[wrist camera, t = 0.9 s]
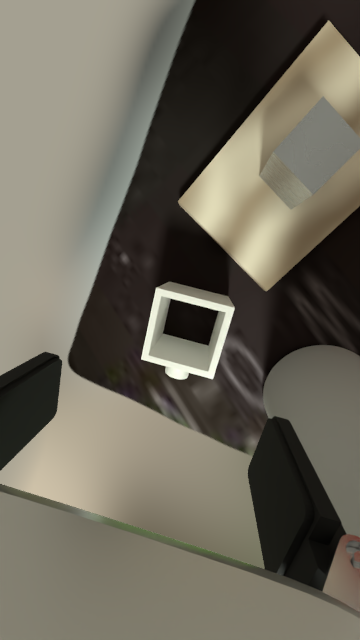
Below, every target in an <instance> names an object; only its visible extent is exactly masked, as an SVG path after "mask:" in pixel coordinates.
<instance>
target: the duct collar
mask: <svg viewBox="0 0 360 640" xmlns="http://www.w3.org/2000/svg"><path fill="white" fill-rule="evenodd" d="M171 299H175V300H179V301H183V302H186V303H190V304H194V305H198V306H202V307H206V308H210V309H214V310H217V311H218V315H217V318H216V322H215V325H214V329H213V332H212V336H211V339H210V342H209V346H208V345H204V344H200V343H196V342H193V341H189V340H185V339H181V338H178V337H174V336H170V335H167V334H163V331H164V326H165V322H166V318H167V313H168V309H169V305H170V300H171ZM234 309H235V307H234V306H233V304H232V302H231V300H230V299H229V297H228V296H225V295H221V294H217V293H213V292H209V291H205V290H201V289H197V288H193V287H189V286H185V285H181V284H177V283H173V282H167V283H165V284H163V285H161V286H159V287H156V291H155V296H154V300H153V305H152V310H151V315H150V319H149V324H148V329H147V334H146V339H145V343H144V348H143V353H142V358H141V359H142V360H145V361H149V362H153V363H156V364H160V365H163V366H166V369H165V372H166V374H167V375H169V376H170V377H172V378H175V379H186V378H187V377H188V375H189V373H192V374H196V375H199V376H203V377H207V378H210V379H213V377H214V374H215V371H216V367H217V364H218V361H219V358H220V354H221V351H222V348H223V345H224V341H225V338H226V335H227V332H228V328H229V325H230V322H231V319H232V315H233V312H234Z"/></svg>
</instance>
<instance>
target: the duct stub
mask: <svg viewBox="0 0 360 640" xmlns="http://www.w3.org/2000/svg"><path fill="white" fill-rule="evenodd" d="M359 149H360V137H359V136H358V135H357V134H356V133H355V132H354V131H353V129H352V128H351V127H350V126H349V125H348V124H347V123H346V121H345V120H344V119H343V118H342V117H341V116H340V115H339V114H338V112H337V111H336V110H335V109H334V108H333V107H332V106H331V104H330V103H329V102H328V101H327V100H326V99H325V98H324V96H323V97H322V98H321V99H320V100H319V101H318V102H317V104H316V105H315V106H314V107H313V108H312V109H311V110H310V111H309V112H308V113H307V115H306V116H305V117H304V118H303V119H302V120H301V121H300V122H299V123H298V125H297V126H296V127H295V128H294V129H293V130H292V131H291V132H290V133H289V135H288V136H287V137H286V138H285V139H284V140H283V141H282V142H281V143H280V145H279V146H278V147H277V148H276V149H275V150H274V151H273V153H272V155H271V156H270V158H269V160H268V162H267V163H266V165H265V167H264V169H263V170H262V172H261V174H260V178H261V179H262V180H263V181H264V182H265V183H266V184H267V185H268V186H269V187H270V188H271V189H272V190H273V191H274V192H275V193H276V195H277V196H278V197H279V198H280V199H281V200H282V201H283V202H284V203H285V204H286V205H287V206H288V207H289V208H290V209H293V208H294V207H296V206H297V205H299V204H300V203H302V202H303V201H305V200H306V199H308V198H309V197H311V196H313V195H314V194H315V193H316V192H317V191H318V190H319V189H320V188H321V187H322V186H323V185H324V184H325V183H326V182H327V181H328V180H329V179H330V178H331V177H332V176H333V175H334V174H335V173H336V172H337V171H338V170H339V169H340V168H341V167H342V166H343V165H344V164H345V163H346V162H347V161H348V160H349V159H350V158H351V157H352V156H353V155H354V154H355V153H356V152H357V151H358V150H359Z"/></svg>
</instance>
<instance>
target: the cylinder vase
mask: <svg viewBox="0 0 360 640" xmlns="http://www.w3.org/2000/svg"><path fill="white" fill-rule="evenodd" d="M263 402H264V406H265V410H266V412H267V415H268V418H271V419H272V418H273V417H274V416H277V417H281V418H284V419H288V420H289V421H290V422H291V424H292V426H293V428H294V430H295V432H296V434H297V436H298V438H299V440H300V442H301V444H302V446H303V448H304V450H305V452H306V454H307V456H308V458H309V460H310V461H311V463H312V465H313V467H314V469H315V471H316V473H317V475H318V477H319V479H320V481H321V483H322V485H323V487H324V489H325V491H326V493H327V495H328V497H329V499H330V501H331V502H332V504H333V506H334V508H335V510H336V512H337V514H338V516H339V518H340V520H341V522H342V523H341V524H342V526H343V528H344V530H345V532H346V534H351V535H355V536H358V537H360V356H359V355H357V354H355V353H354V352H352V351H349V350H347V349H344V348H341V347H337V346H331V345H315V346H309V347H305V348H301V349H298V350H296V351H294V352H292V353H290V354H288V355H287V356H285V357H284V358H282V359H281V360H280V361H279V362H278V363H277V364H276V365H275V366H274V367H273V368H272V370H271V371H270V373H269V375H268V377H267V379H266V381H265V384H264V389H263Z"/></svg>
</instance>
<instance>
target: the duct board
mask: <svg viewBox="0 0 360 640" xmlns="http://www.w3.org/2000/svg"><path fill="white" fill-rule="evenodd" d="M323 96H324V98H325V99H326V100H327V101H328V102H329V103H330V104H331V106H332V107H333V108H334V109H335V110H336V111H337V112H338V114H339V115H340V116H341V117H342V118H343V119H344V120H345V121H346V123H347V124H348V125H349V126H350V127H351V128H352V129H353V131H354V132H355V133H356V134H357V135H358V136H359V137H360V57H359V55H358V54H357V53H356V52H355V51H354V50H353V48H352V47H351V46H350V45H349V44H348V42H347V41H346V40H345V39H344V38H343V37H342V35H341V34H340V33H339V32H338V31H337V29H336V28H335V27H334V26H333V25H332V24H331V22H330V21H328V22H327V23H326V24H325V26H324V27H323V28H322V29H321V30H320V32H319V33H318V34H317V35H316V36H315V38H314V39H313V40H312V41H311V42H310V44H309V45H308V46H307V47H306V48H305V50H304V51H303V52H302V53H301V54H300V56H299V57H298V58H297V59H296V60H295V62H294V63H293V64H292V65H291V66H290V68H289V69H288V70H287V71H286V72H285V74H284V75H283V76H282V77H281V78H280V80H279V81H278V82H277V83H276V84H275V86H274V87H273V88H272V89H271V90H270V92H269V93H268V94H267V95H266V96H265V98H264V99H263V100H262V101H261V102H260V104H259V105H258V106H257V107H256V108H255V110H254V111H253V112H252V113H251V114H250V116H249V117H248V118H247V119H246V120H245V122H244V123H243V124H242V125H241V126H240V128H239V129H238V130H237V131H236V132H235V134H234V135H233V136H232V137H231V138H230V140H229V141H228V142H227V143H226V144H225V146H224V147H223V148H222V149H221V150H220V152H219V153H218V154H217V155H216V156H215V158H214V159H213V160H212V161H211V162H210V164H209V165H208V166H207V167H206V168H205V170H204V171H203V172H202V173H201V174H200V176H199V177H198V178H197V179H196V180H195V182H194V183H193V184H192V185H191V186H190V188H189V189H188V190H187V191H186V192H185V194H184V195H183V196H182V197H181V198H180V200H179V201H178V203H179V205H180V206H181V207H182V208H183V209H184V210H185V211H186V212H187V213H188V214H189V215H190V216H191V217H192V218H193V219H194V220H195V221H196V222H197V223H198V224H199V225H200V226H201V227H202V228H203V229H204V230H205V231H206V232H207V233H208V234H209V235H210V236H211V237H212V238H213V239H214V240H215V241H216V242H217V243H218V244H219V245H220V246H221V247H222V248H223V249H224V250H225V251H226V252H227V253H228V254H229V255H230V256H231V257H232V258H233V259H234V261H235V262H236V263H237V264H238V265H239V266H240V267H241V268H242V269H243V270H244V271H245V272H246V273H247V274H248V275H249V276H250V277H251V278H252V279H253V280H254V281H255V282H256V283H257V284H258V285H259V286H260V287H261V288H262V289H263V290H265V291H268V290H269V289H270V288H271V287H272V286H273V285H274V284H275V283H276V282H277V281H279V280H280V279H281V278H282V277H283V276H284V275H285V274H286V273H287V272H288V271H289V270H290V269H292V268H293V267H294V266H295V265H296V264H297V263H298V262H299V261H300V260H301V259H302V258H304V257H305V256H306V255H307V254H308V253H309V252H310V251H311V250H312V249H313V248H314V247H315V246H317V245H318V244H319V243H320V242H321V241H322V240H323V239H324V238H325V237H326V236H327V235H329V234H330V233H331V232H332V231H333V230H334V229H335V228H336V227H337V226H338V225H339V224H341V223H342V222H343V221H344V220H345V219H346V218H347V217H348V216H349V215H350V214H351V213H352V212H354V211H355V210H356V209H357V208H358V207H359V206H360V149H359V150H358V151H357V152H356V153H355V154H354V155H353V156H352V157H351V158H350V159H349V160H348V161H347V162H346V163H345V164H344V165H343V166H342V167H341V168H340V169H339V170H338V171H337V172H336V173H335V174H334V175H333V176H332V177H331V178H330V179H329V180H328V181H327V182H326V183H325V184H324V185H323V186H322V187H321V188H320V189H319V190H318V191H317V192H316V193H315V194H314V195H313V196H311V197H309V198H308V199H306V200H305V201H303V202H302V203H300V204H299V205H297V206H296V207H294V208H293V209H290V208H289V207H288V206H287V205H286V204H285V203H284V202H283V201H282V200H281V199H280V198H279V197H278V196H277V195H276V193H275V192H274V191H273V190H272V189H271V188H270V187H269V186H268V185H267V184H266V183H265V182H264V181H263V180H262V179H261V178H260V174H261V172H262V170H263V169H264V167H265V165H266V163H267V162H268V160H269V158H270V156H271V155H272V153H273V151H274V150H275V149H276V148H277V147H278V146H279V145H280V143H281V142H282V141H283V140H284V139H285V138H286V137H287V136H288V135H289V133H290V132H291V131H292V130H293V129H294V128H295V127H296V126H297V125H298V123H299V122H300V121H301V120H302V119H303V118H304V117H305V116H306V115H307V113H308V112H309V111H310V110H311V109H312V108H313V107H314V106H315V105H316V104H317V102H318V101H319V100H320V99H321V98H322V97H323Z"/></svg>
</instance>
